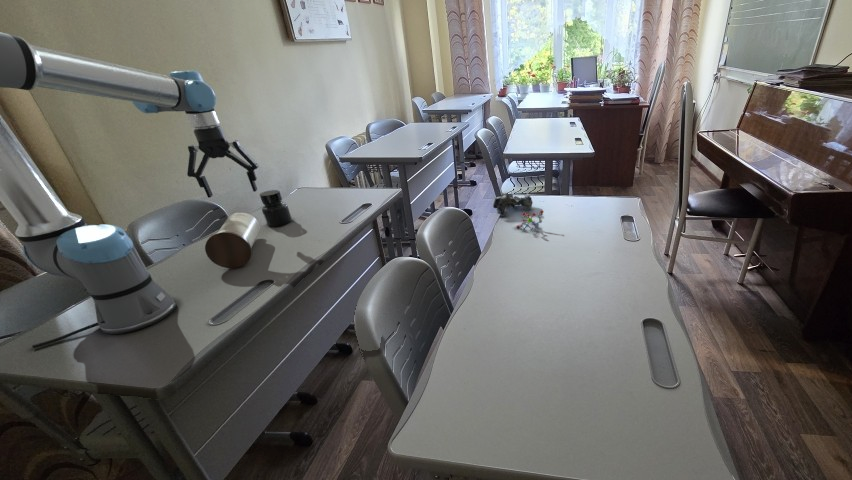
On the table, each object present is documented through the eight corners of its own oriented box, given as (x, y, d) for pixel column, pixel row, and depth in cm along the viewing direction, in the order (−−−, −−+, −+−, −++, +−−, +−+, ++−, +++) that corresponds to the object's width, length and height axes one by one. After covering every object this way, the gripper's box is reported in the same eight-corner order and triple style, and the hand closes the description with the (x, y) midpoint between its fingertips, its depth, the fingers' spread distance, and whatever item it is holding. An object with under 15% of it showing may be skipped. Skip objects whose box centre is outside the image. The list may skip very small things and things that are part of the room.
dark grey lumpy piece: (538, 206, 148) (503, 187, 143) (523, 229, 153) (489, 212, 148) (534, 195, 158) (501, 176, 153) (519, 217, 163) (487, 200, 158)
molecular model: (545, 230, 137) (545, 209, 134) (525, 235, 134) (525, 214, 131) (534, 223, 143) (534, 203, 139) (515, 228, 140) (514, 208, 136)
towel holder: (214, 271, 122) (197, 236, 116) (235, 236, 146) (223, 205, 140) (257, 264, 125) (243, 229, 119) (271, 230, 149) (260, 200, 143)
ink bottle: (278, 217, 161) (268, 188, 154) (297, 218, 159) (288, 189, 153) (261, 227, 152) (250, 196, 146) (281, 227, 151) (270, 197, 145)
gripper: (253, 121, 130) (275, 185, 141) (164, 129, 123) (194, 195, 134) (248, 124, 124) (271, 191, 134) (155, 133, 117) (187, 202, 128)
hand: (233, 193), depth 134 cm, fingers open, 13 cm apart
